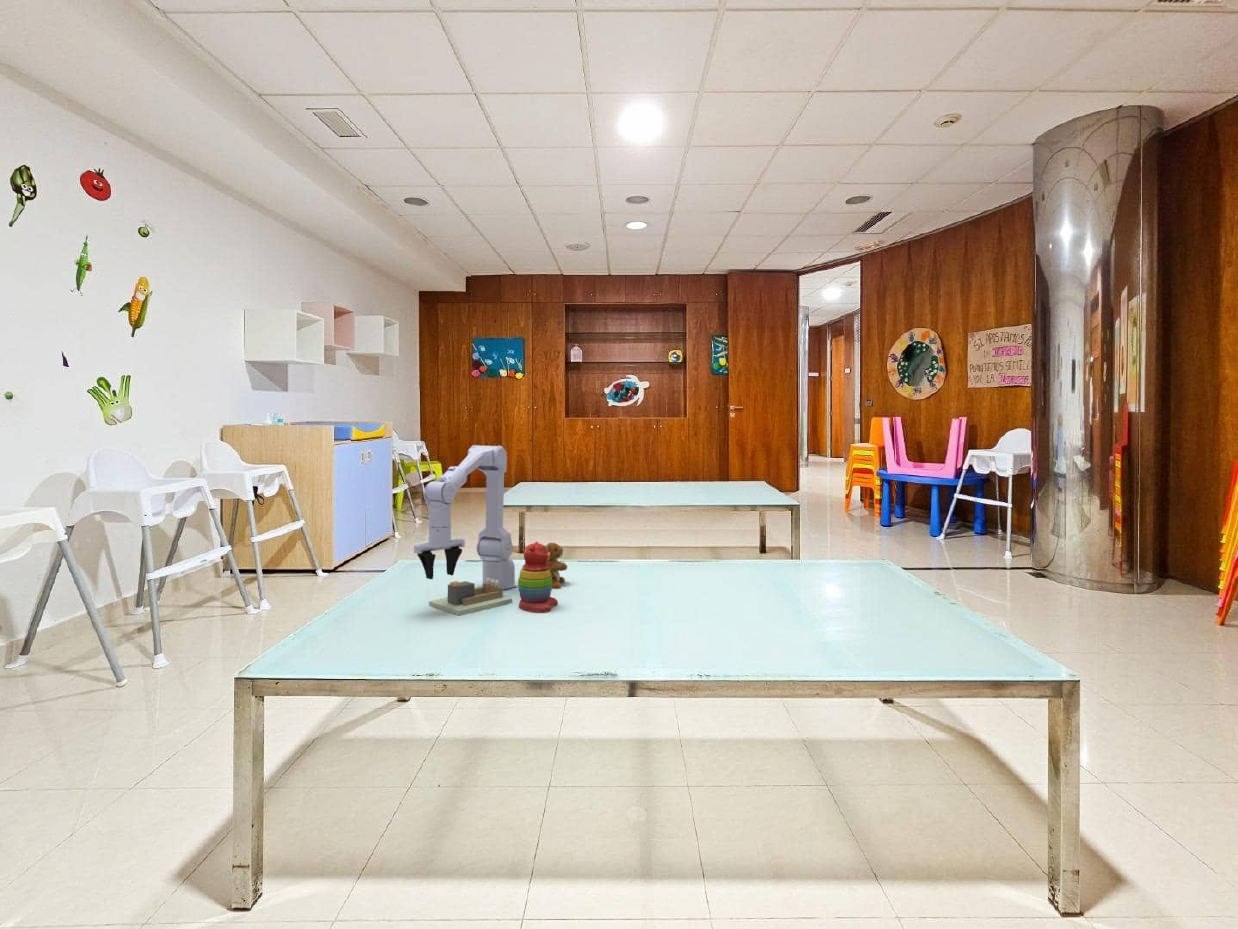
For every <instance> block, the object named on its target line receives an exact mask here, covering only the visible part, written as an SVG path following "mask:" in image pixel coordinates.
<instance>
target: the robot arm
mask: <svg viewBox="0 0 1238 929" xmlns="http://www.w3.org/2000/svg"><path fill="white" fill-rule="evenodd" d="M507 463H508V452H507V451H506V450H505V448H504V446H502V445H477V444H473V445H472V446H470V448H469V449H468V451H467V456H466V457H465V458H464V459H463V460H462V461H460V464H458V466H454V465H453V466H449V467H448V468H447V469H448V470H446V471H445V472H444V473H443V474H442V475H441V476H439V477H438V479H436V481H430V482H429V483H427V484H426V485H425V488H424V492H423V498H424V500H425V503H426V508H427V510H428V542H425V543H420V544H416V545H413V553H414V554H416V555H417V557H418V559H419V560H420V562H421V564H422V567H423V569H424V573H425V578H426V579H429V580H433V579H434V565H435V559H436V554H435V553H433V552H435V551H441V550H443V551H444V555H445V561H446V563H445V564H446V567H445V568H446V575H448V576H454V574H455V570H456V566H457V563H458V560H459V558H460V557H461V555H462V553H463V547H464V548H465V547H466V545H465V541H466V540H465V539H462V538H459V539H452V517H451V516H452V513H451V510H452V509H451V508H452V503H453V502H454V500H455V498H456V495H457V493H458V490H459V489H460V488H461V487H462V486H464V484H466V482H467V480H468V475H470V474H471V473H472V472H474V471H475V470H476V469H478V470H479V471H481V472H482V473H483V474H484V475H485V476H486V490H485V492H486V493H485V494H486V498H485V499H486V500H485V502H486V503H485V528H484V529H482V530H481V531H480V532H479V533H478V539H477V543H476V548H475V549H476V552H477V555H478V556H479V557H480V560H482V584H480V585H477V586H476V588H479V587H483V583H487V578H490V584H491V579H494V585H495V580H499V587H503V590H508V589H513V588H517V584H515V583H516V582H515V580H516V579H515V578H516V576H515V575H516V574H515V572H516V566H515V563H514V560H513V559H512V558H511V556H512V553H513V541H512V534H511V533H510V532H509V531H508V530H507V529H505V528H504V495H505V494H504V493H505V491H504V490H505V489H504V488H505V485H504V484H505V473H507V468H508V464H507Z"/></svg>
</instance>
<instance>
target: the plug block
mask: <svg viewBox="0 0 1238 929" xmlns="http://www.w3.org/2000/svg"><path fill="white" fill-rule="evenodd" d="M475 586H476V585H475V583H474V582H470V581H466V580H465V581H461V582H460V581H457V580H455V581H451V582H449V584H447V594H448V603H450V604H453V605H461V604H462V599H464V598H468V597H473V596H475V588H476V587H475Z"/></svg>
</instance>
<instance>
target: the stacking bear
mask: <svg viewBox="0 0 1238 929" xmlns="http://www.w3.org/2000/svg"><path fill="white" fill-rule="evenodd" d="M550 557H551V554H550V552H549V551H548V550H547V549H546V548H545V544H542V543H540V542H538V541H535V542H534V543H530V544H528V545H526V546H525V548H524V550H523V559H524V564H523V565H522V567H521V569H520V571H519V576H518V580H517V585H518V586H517V587H518V589H517V590H518V593H519V598H520V600H519V602H518V608H519V609H521V610H523V611H527V612H531V613H549V612H550V611H551V610H552V607H555V606H557V605H558V604H559V602H558V599H557V598H555V597H552V596H551V595H552V590H553V588H552V577H551V572H550V569H549V566H548V564H547V562H548V561H549V559H550ZM525 562H526V564H525Z"/></svg>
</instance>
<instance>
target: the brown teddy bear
mask: <svg viewBox="0 0 1238 929" xmlns="http://www.w3.org/2000/svg"><path fill="white" fill-rule="evenodd" d="M544 546H545V548H546V549H547V550H548V551H549V552H550V554H551V557H550V559H549V561H548V562H547V564H548V566H549V569H550V572H551V577H552V589H556V590H557V589H561V588H562V584H561V583H564V582H565V581H566V580H565V578H564V577H563V576H561V575H560V572H563V571H567V569H568V565H567V564H566V563H565V562H563V561H562V562H560V561H559V559H562V558H563V554H564V548H563V547H562V546H561V545H559V544H557V543H555V542H548V543H547V544H544ZM524 564H526V562H525V561H524Z"/></svg>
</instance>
